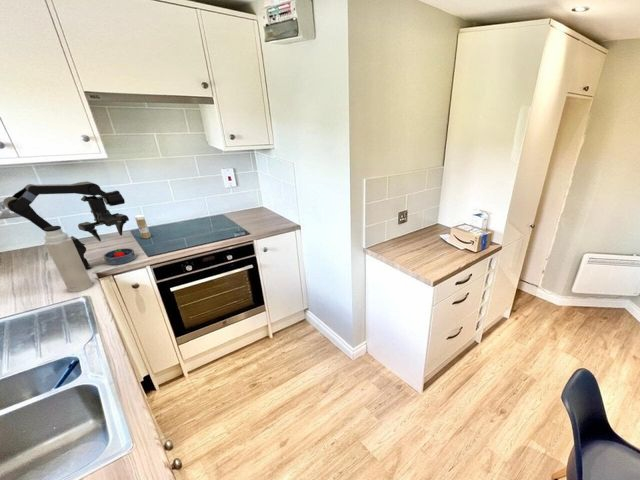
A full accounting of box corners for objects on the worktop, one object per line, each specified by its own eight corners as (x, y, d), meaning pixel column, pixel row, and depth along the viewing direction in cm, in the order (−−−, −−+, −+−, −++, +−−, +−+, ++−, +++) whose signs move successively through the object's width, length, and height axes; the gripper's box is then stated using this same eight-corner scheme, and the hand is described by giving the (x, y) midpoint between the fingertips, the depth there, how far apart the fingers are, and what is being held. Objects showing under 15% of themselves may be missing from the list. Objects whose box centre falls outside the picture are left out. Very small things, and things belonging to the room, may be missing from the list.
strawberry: (119, 261, 163) (115, 251, 160) (114, 260, 164) (109, 249, 162) (128, 258, 166) (124, 248, 164) (123, 256, 168) (119, 246, 165)
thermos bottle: (63, 290, 138) (31, 230, 126) (81, 281, 145) (53, 223, 133) (79, 292, 138) (49, 231, 125) (97, 283, 145) (70, 224, 132)
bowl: (115, 267, 158) (112, 260, 157) (100, 262, 162) (97, 255, 161) (141, 257, 169) (139, 251, 167) (127, 253, 173) (124, 246, 171)
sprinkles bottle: (140, 239, 190) (132, 217, 184) (143, 236, 194) (136, 214, 188) (149, 238, 192) (142, 216, 185) (152, 235, 195) (145, 214, 189)
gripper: (84, 216, 145) (98, 247, 152) (130, 206, 160) (140, 235, 167) (71, 212, 149) (85, 243, 156) (116, 202, 164) (127, 231, 171)
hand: (110, 238), depth 162 cm, fingers open, 9 cm apart
